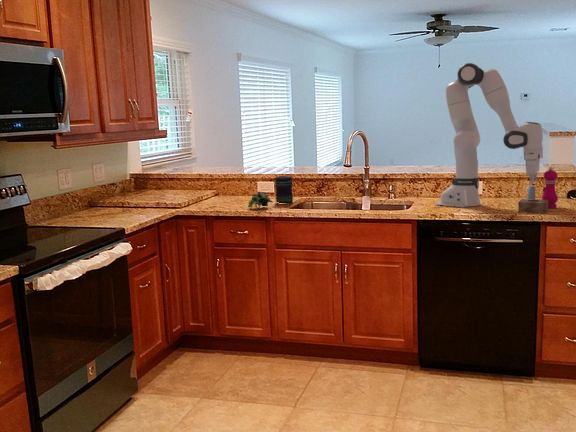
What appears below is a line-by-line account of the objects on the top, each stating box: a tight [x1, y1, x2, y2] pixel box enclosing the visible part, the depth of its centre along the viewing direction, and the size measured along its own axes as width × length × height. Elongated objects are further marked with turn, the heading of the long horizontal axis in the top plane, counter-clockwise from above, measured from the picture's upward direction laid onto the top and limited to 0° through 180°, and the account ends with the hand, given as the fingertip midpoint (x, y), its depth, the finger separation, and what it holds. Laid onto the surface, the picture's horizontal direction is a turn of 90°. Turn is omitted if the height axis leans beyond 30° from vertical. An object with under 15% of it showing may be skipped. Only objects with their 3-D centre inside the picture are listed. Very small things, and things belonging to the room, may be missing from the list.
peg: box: [526, 185, 536, 199], centre depth 301 cm, size 4×4×10 cm
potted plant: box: [247, 191, 273, 209], centre depth 328 cm, size 11×11×12 cm
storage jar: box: [274, 175, 294, 204], centre depth 343 cm, size 10×10×15 cm
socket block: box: [517, 198, 549, 214], centre depth 287 cm, size 12×10×5 cm
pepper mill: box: [541, 166, 559, 210], centre depth 293 cm, size 7×7×20 cm
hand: (533, 182), depth 300 cm, fingers open, 8 cm apart
